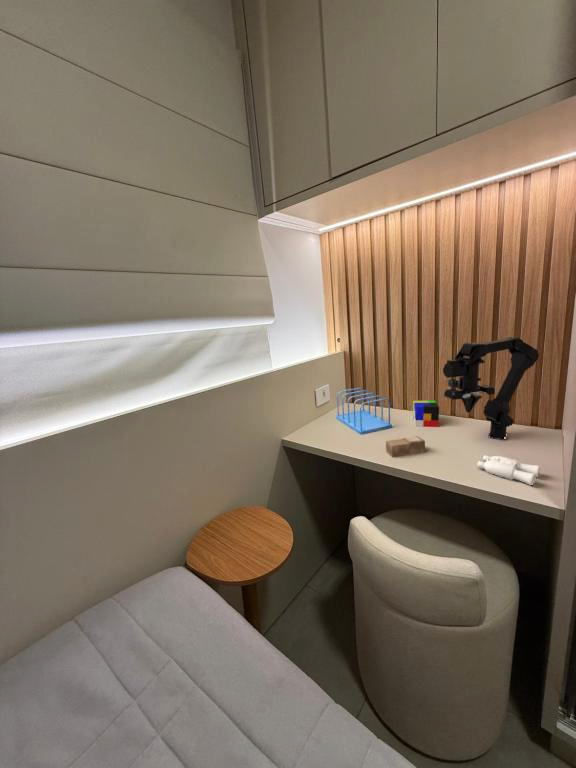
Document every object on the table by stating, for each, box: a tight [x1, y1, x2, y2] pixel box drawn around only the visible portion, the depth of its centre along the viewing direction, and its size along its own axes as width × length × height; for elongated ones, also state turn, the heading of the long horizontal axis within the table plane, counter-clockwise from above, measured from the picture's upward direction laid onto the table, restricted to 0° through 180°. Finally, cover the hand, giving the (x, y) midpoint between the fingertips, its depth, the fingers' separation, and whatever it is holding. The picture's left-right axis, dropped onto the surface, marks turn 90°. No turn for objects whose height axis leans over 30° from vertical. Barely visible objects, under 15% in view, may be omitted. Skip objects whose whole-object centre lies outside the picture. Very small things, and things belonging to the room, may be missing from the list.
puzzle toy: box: [412, 400, 440, 428], centre depth 156 cm, size 10×10×10 cm
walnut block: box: [385, 435, 426, 458], centre depth 129 cm, size 5×5×14 cm
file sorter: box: [335, 387, 393, 435], centre depth 162 cm, size 25×17×15 cm
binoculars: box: [476, 454, 541, 486], centre depth 108 cm, size 10×16×5 cm, turn 42°
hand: (468, 412), depth 131 cm, fingers closed
